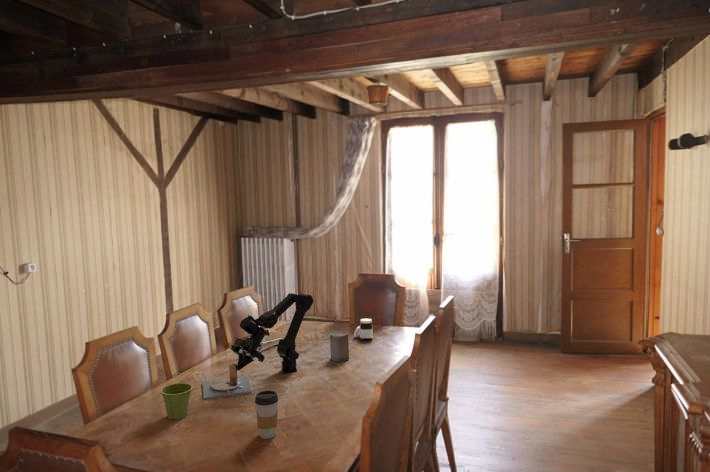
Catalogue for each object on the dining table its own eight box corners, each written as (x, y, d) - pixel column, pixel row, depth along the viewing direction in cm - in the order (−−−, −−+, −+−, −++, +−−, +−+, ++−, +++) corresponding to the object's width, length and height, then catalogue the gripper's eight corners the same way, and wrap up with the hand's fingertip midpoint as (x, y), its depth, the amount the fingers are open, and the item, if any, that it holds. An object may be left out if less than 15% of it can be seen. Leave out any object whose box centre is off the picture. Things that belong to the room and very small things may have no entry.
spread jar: (373, 341, 285) (372, 321, 285) (353, 341, 286) (353, 322, 285) (372, 335, 297) (372, 316, 296) (354, 335, 298) (353, 317, 297)
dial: (205, 387, 217) (204, 365, 216) (227, 378, 228) (226, 356, 227) (225, 393, 210) (224, 370, 209) (247, 383, 221) (246, 361, 220)
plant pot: (175, 425, 184) (173, 396, 183) (155, 418, 190) (153, 390, 189) (200, 413, 194) (199, 386, 193) (180, 407, 200) (179, 380, 199)
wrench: (284, 347, 287) (251, 356, 260) (281, 346, 288) (249, 356, 261) (284, 333, 287) (252, 341, 260) (281, 333, 288) (249, 341, 261)
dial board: (246, 377, 231) (246, 374, 231) (251, 393, 213) (251, 389, 212) (202, 383, 225) (202, 380, 225) (203, 400, 206) (203, 396, 206)
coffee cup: (257, 429, 179) (256, 390, 178) (280, 428, 180) (279, 389, 178) (254, 441, 171) (253, 399, 169) (278, 439, 171) (277, 398, 170)
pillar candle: (350, 356, 260) (349, 328, 259) (347, 362, 250) (347, 333, 249) (332, 356, 261) (331, 328, 260) (329, 362, 251) (328, 333, 250)
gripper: (232, 327, 225) (213, 357, 218) (257, 333, 213) (238, 365, 206) (247, 339, 232) (229, 369, 224) (272, 346, 220) (254, 377, 212)
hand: (237, 370), depth 216 cm, fingers closed, pressing on dial
